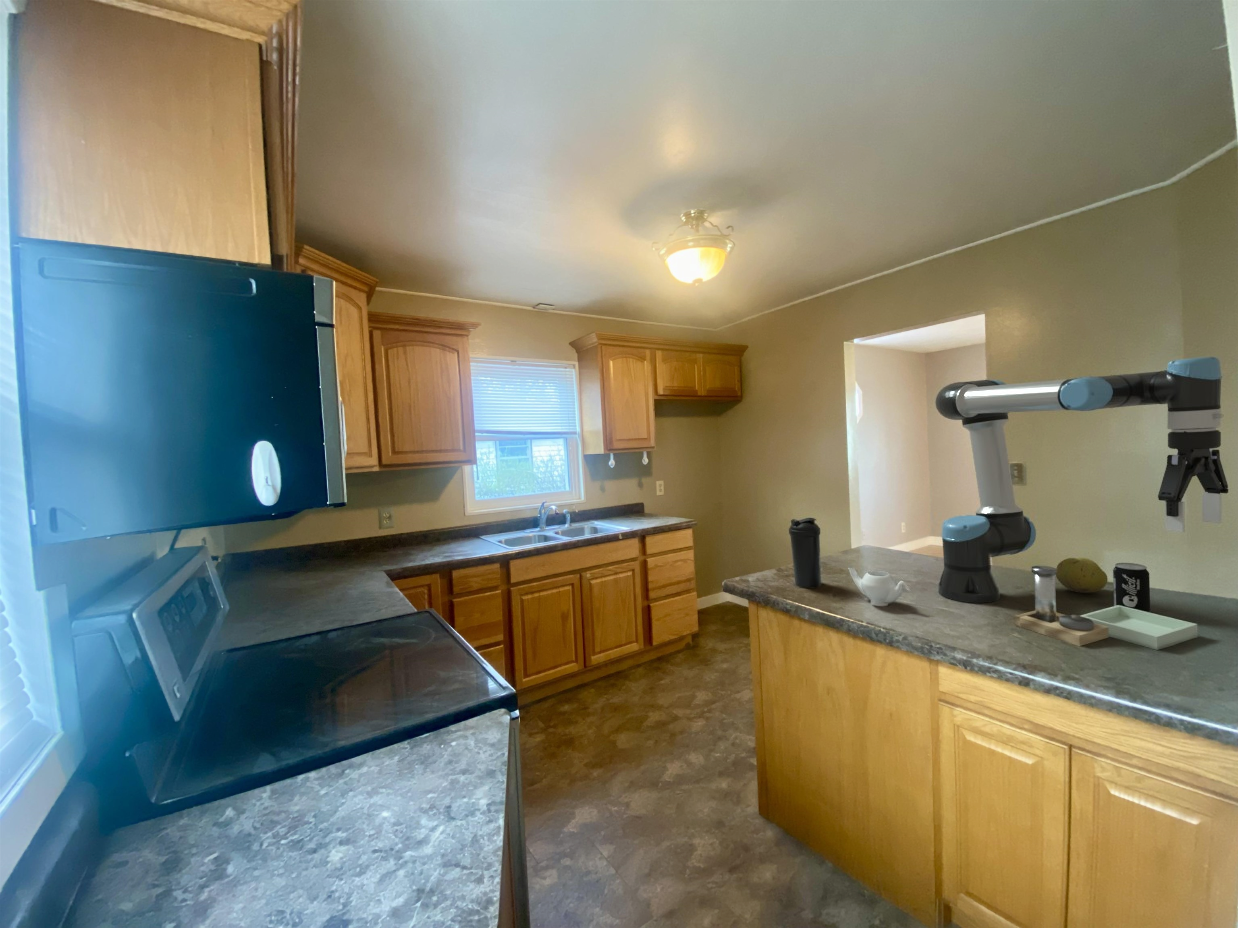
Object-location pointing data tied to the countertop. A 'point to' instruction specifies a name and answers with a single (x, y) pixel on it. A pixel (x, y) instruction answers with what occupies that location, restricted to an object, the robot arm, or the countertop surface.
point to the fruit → (1081, 575)
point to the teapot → (878, 586)
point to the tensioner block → (1064, 628)
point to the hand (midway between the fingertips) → (1193, 526)
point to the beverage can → (1131, 586)
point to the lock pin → (1045, 593)
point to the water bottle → (806, 552)
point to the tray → (1143, 627)
